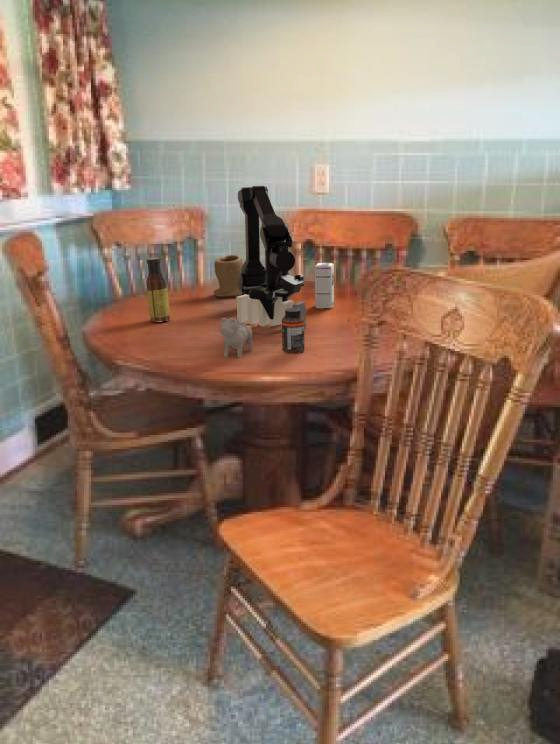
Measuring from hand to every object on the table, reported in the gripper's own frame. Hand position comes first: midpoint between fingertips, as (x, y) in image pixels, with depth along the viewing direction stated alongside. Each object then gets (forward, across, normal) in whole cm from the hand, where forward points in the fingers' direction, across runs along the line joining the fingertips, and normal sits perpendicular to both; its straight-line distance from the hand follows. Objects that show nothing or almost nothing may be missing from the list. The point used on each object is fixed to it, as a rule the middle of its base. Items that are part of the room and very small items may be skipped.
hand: (276, 317), depth 199 cm
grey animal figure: (+3, -29, -8) cm, 30 cm away
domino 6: (+3, 0, -8) cm, 9 cm away
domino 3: (+3, 0, +4) cm, 5 cm away
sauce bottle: (+3, -14, +36) cm, 38 cm away
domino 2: (+3, 0, +8) cm, 9 cm away
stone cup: (+3, +28, +40) cm, 49 cm away
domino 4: (+2, 0, 0) cm, 2 cm away
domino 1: (+3, 0, +13) cm, 13 cm away
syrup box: (+3, +30, +2) cm, 30 cm away
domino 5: (+3, 0, -4) cm, 5 cm away
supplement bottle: (+3, -19, -19) cm, 27 cm away
